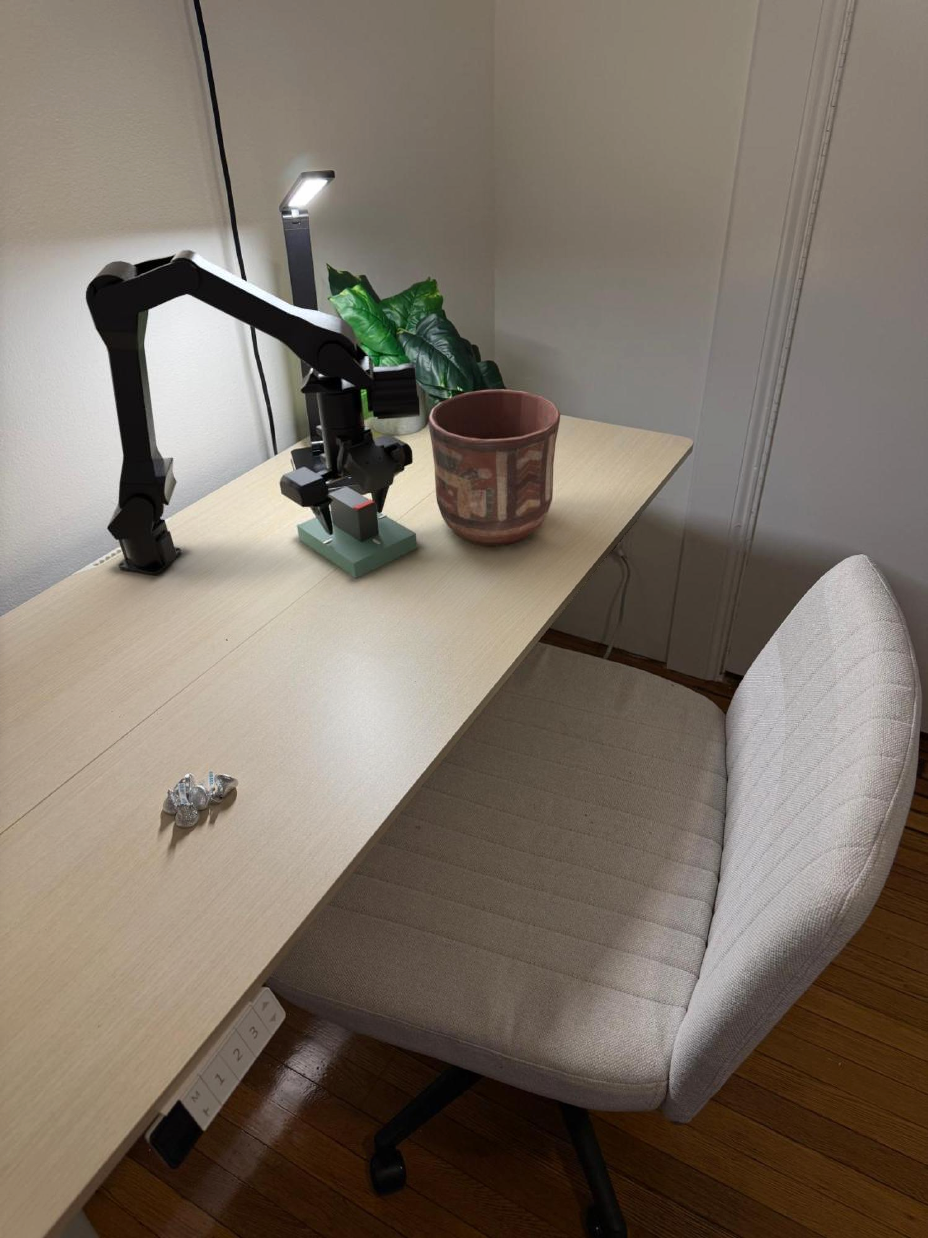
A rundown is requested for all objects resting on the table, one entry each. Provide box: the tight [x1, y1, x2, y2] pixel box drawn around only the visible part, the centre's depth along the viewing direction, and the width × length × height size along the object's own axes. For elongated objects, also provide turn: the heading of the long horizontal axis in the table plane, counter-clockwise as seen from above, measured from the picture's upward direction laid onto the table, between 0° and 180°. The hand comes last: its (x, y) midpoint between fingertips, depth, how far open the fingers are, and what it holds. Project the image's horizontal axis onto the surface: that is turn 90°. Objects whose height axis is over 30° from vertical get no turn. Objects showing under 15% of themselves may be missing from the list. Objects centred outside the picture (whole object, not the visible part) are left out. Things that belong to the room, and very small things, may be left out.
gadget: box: [328, 486, 379, 542], centre depth 116 cm, size 7×3×5 cm, turn 42°
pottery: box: [428, 389, 561, 547], centre depth 117 cm, size 18×18×18 cm
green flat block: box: [296, 510, 418, 579], centre depth 119 cm, size 14×11×3 cm
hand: (354, 522), depth 117 cm, fingers open, 8 cm apart
